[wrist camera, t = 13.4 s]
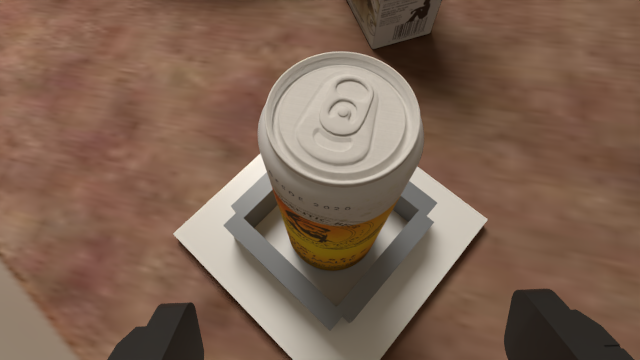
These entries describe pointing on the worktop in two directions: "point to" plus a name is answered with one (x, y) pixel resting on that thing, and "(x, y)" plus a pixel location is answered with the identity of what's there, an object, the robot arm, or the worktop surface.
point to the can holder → (329, 286)
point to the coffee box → (394, 19)
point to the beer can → (339, 153)
